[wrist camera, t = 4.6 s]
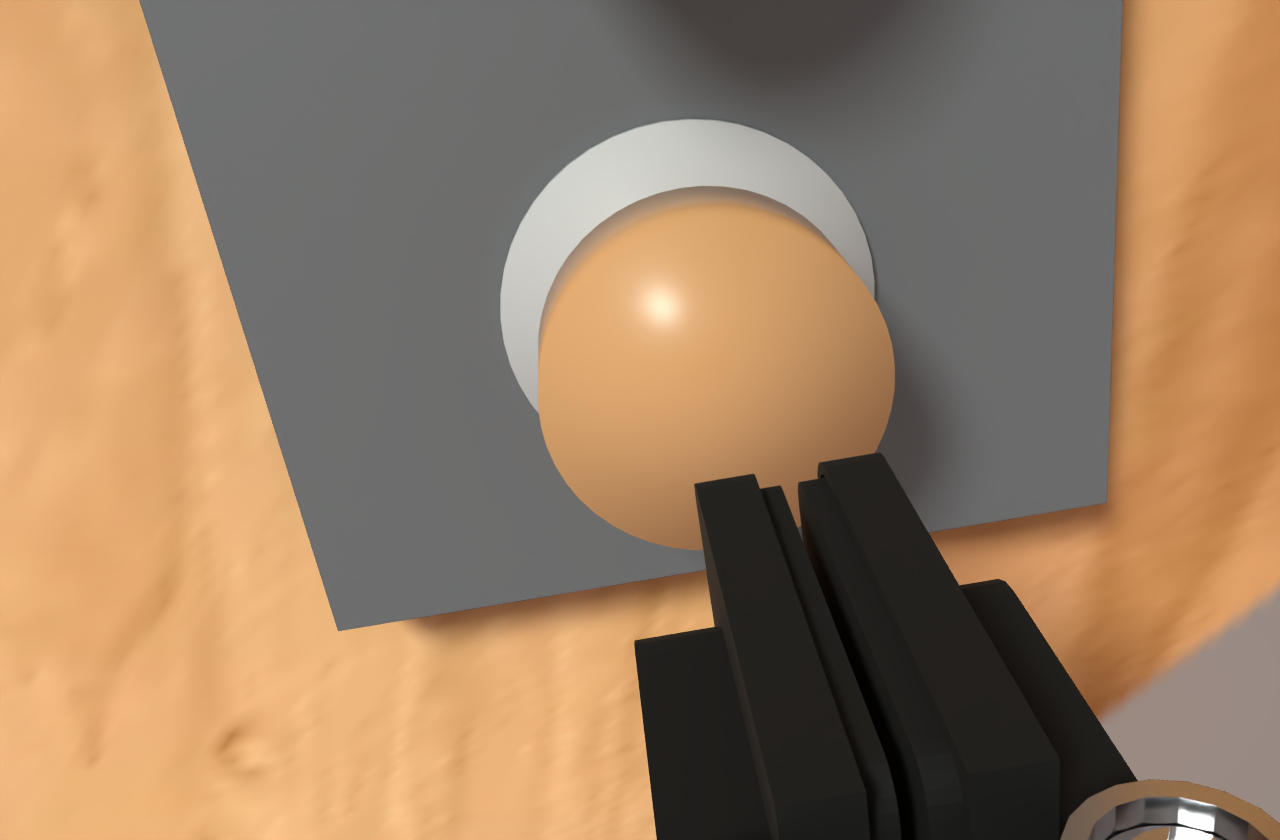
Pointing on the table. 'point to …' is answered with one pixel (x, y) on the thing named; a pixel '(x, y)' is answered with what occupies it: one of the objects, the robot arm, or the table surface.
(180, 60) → the button board
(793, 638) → the robot arm
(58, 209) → the table surface
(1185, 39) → the table surface
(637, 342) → the terracotta button
